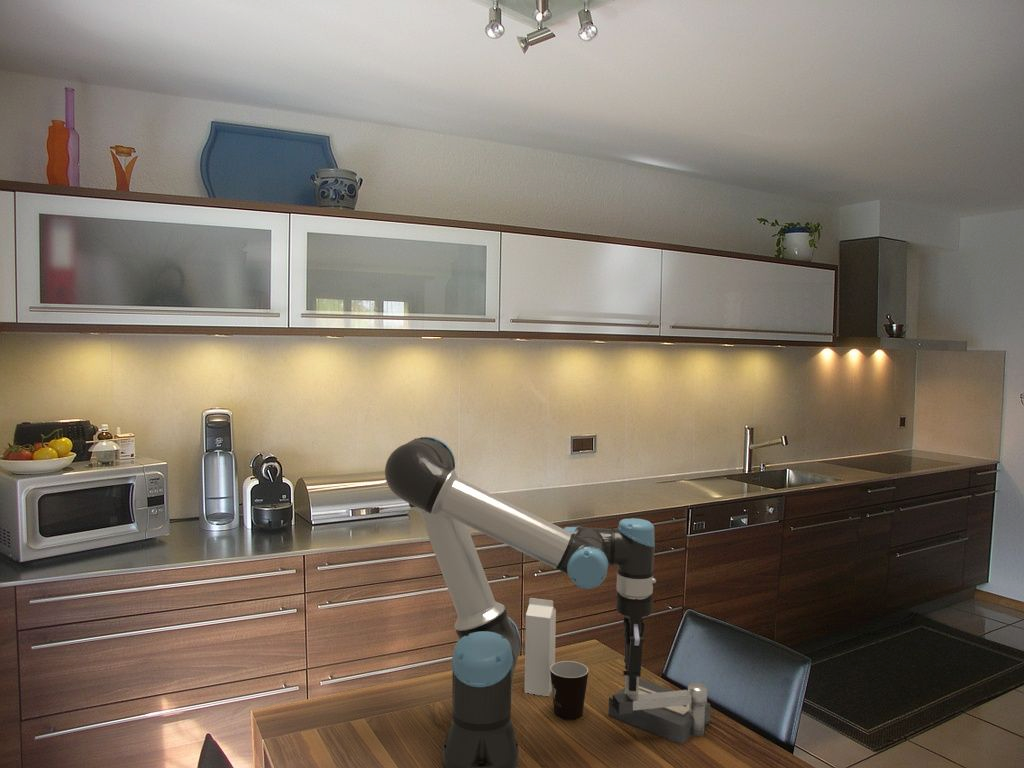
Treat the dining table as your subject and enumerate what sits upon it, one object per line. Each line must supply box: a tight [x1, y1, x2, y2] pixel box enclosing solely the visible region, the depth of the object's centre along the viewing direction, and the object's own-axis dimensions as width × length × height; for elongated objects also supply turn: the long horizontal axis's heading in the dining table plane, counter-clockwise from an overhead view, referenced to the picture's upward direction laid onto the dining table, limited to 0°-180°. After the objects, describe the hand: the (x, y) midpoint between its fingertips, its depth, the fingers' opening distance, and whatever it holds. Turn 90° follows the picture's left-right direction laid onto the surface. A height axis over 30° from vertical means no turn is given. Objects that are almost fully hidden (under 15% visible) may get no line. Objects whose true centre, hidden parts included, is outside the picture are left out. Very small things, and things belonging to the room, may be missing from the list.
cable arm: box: [612, 682, 708, 714], centre depth 151 cm, size 20×4×3 cm, turn 103°
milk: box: [524, 597, 557, 698], centre depth 172 cm, size 6×6×22 cm
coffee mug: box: [550, 660, 589, 721], centre depth 162 cm, size 12×9×10 cm
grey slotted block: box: [608, 678, 711, 745], centre depth 159 cm, size 20×13×6 cm, turn 49°
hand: (631, 702), depth 152 cm, fingers closed
